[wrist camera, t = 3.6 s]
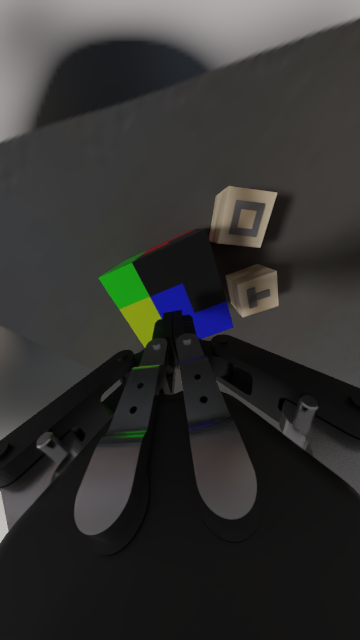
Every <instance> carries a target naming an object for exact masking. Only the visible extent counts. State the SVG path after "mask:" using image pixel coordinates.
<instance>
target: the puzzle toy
mask: <svg viewBox="0 0 360 640" xmlns="http://www.w3.org/2000/svg"><path fill="white" fill-rule="evenodd" d="M99 280H100V281H101V283H102V284H103V286H104V287H105V289H106V290H107V292H108V293H109V295H110V296H111V298H112V299H113V301H114V302H115V304H116V305H117V307H118V308H119V310H120V311H121V313H122V314H123V316H124V317H125V319H126V320H127V322H128V323H129V325H130V326H131V328H132V329H133V331H134V332H135V334H136V335H137V337H138V338H139V340H140V341H141V343H142V344H143V346H144V347H146V345H147V343H148V342H150V341H151V340H152V336H153V331H154V325H155V323H156V322H157V320H159V319H163V313H165V312H171V311H172V312H173V311H177V310H182V314H183V315H188V314H189V315H190V316H192V318H193V322H194V327H195V331H196V335H197V337H198V338H199V339H202V338H205V337H207V336H210V335H213V334H216V333H219V332H222V331H225V330H227V329H230V328H233V324H232V320H231V316H230V313H229V309H228V306H227V302H226V298H225V295H224V291H223V288H222V284H221V280H220V277H219V273H218V269H217V266H216V262H215V259H214V255H213V251H212V248H211V244H210V241H209V237H208V233H207V230H206V229H197V230H190V231H188V232H186V233H184V234H182V235H180V236H177V237H175V238H173V239H171V240H169V241H166V242H164V243H162V244H160V245H158V246H156V247H153V248H151V249H149V250H147V251H145V252H142V253H140V254H138V255H136V256H134V257H132V258H129V259H127V260H125V261H124V262H122V263H121V264H119V265H118V266H116V267H114V268H113V269H111V270H110V271H108V272H107V273H105V274H104V275H102V276H100V277H99Z"/></svg>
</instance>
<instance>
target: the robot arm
mask: <svg viewBox="0 0 360 640" xmlns="http://www.w3.org/2000/svg"><path fill="white" fill-rule="evenodd" d="M178 359H179V368H180V375H181V381H182V388H183V391H181V392H178V393H176V394H174V385H175V370H174V369H175V364H178ZM237 366H238V367H237ZM246 371H247V372H246ZM118 380H120V382H121V385H120V386H119V387H118V388H117V389H116V390H115V391H114V392H113V393H112V394H110V395H109V396H108V397H107V398H106V399H105V400H104V401H103V402H101V401H100V400H101V396H102V395H103V393H104V392H105V391H106V390H108V389H109V388H110V387H111V386H112V385H113V384H114V383H116V382H117V381H118ZM217 381H219V382H220V383H222V384H223V385H225V386H226V387H228V388H229V389H230V390H232V391H233V392H235V393H236V394H238V395H239V396H241V397H242V398H244V399H245V400H247V401H248V402H249V403H251V404H252V405H254V406H255V407H257V408H258V409H260V410H261V411H263V412H264V413H266V414H267V415H268V416H270V417H271V418H273V419H274V420H276V421H277V422H279V425H280V429H281V431H282V433H281V432H280V431H279V430H277V429H276V428H275V427H273V426H272V425H271V424H269V423H268V422H267V421H265V420H264V419H263V418H261V417H260V416H259V415H258V414H256V413H255V412H254V411H252V410H251V409H250V408H248V407H247V406H246V405H244V404H243V403H242V402H240V401H239V400H238V399H236V398H234V397H233V396H231V395H229V394H227V393H224V392H221V391H220V388H219V385H218V383H217ZM0 491H1V494H2V499H3V504H4V509H5V514H6V519H7V524H8V529H9V532H8V533H7V534H6V536H5V537H4V539H3V540H2V542H1V543H0V640H360V388H358V387H355V386H353V385H350V384H348V383H345V382H343V381H340V380H338V379H335V378H333V377H331V376H328V375H326V374H323V373H321V372H318V371H316V370H313V369H311V368H308V367H306V366H303V365H301V364H298V363H296V362H294V361H291V360H289V359H286V358H284V357H281V356H279V355H276V354H274V353H271V352H269V351H266V350H264V349H262V348H259V347H257V346H254V345H252V344H249V343H247V342H244V341H242V340H239V339H237V338H234V337H232V336H229V335H217V336H215V337H213V338H212V340H211V341H204V340H201V339H199V338H198V337H197V335H196V331H195V327H194V322H193V318H192V316H190V315H189V314H188V315H183V314H182V310H177V311H173V312H172V311H171V312H165V313H163V319H159V320H157V322H156V323H155V325H154V331H153V336H152V340H151V341H150V342H148V343H147V345H146V347H145V350H144V351H142V352H139V353H137V354H134V353H133V352H132V351H131V350H123V351H120V352H118V353H117V354H115V355H114V356H113V357H111V358H110V359H109V360H107V361H106V362H105V363H103V364H102V365H101V366H99V367H98V368H97V369H95V370H94V371H93V372H91V373H90V374H89V375H87V376H86V377H85V378H83V379H82V380H81V381H79V382H78V383H77V384H75V385H74V386H73V387H71V388H70V389H69V390H67V391H66V392H65V393H63V394H62V395H61V396H59V397H58V398H57V399H55V400H54V401H53V402H51V403H50V404H49V405H48V406H46V407H45V408H43V409H42V410H41V411H39V412H38V413H37V414H35V415H34V416H33V417H31V418H30V419H29V420H27V421H26V422H25V423H23V424H22V425H21V426H19V427H18V428H17V429H15V430H14V431H13V432H11V433H10V434H9V435H7V436H6V437H5V438H3V439H2V440H1V441H0Z"/></svg>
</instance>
